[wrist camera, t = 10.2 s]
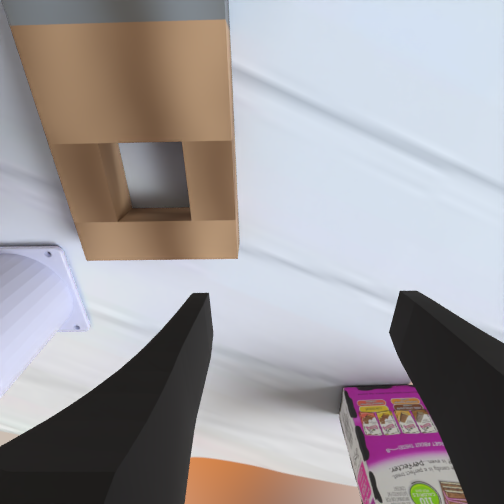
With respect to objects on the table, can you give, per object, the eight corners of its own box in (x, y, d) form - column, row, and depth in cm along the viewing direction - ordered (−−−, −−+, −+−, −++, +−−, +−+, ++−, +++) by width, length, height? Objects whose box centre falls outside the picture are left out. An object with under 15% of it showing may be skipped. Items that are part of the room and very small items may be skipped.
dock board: (104, 243, 22) (86, 260, 19) (-44, -268, 11) (-116, -356, 9) (239, 241, 21) (237, 258, 19) (215, -281, 11) (205, -374, 9)
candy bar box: (337, 416, 31) (408, 697, 17) (341, 384, 29) (428, 679, 14) (445, 414, 31) (615, 699, 16) (458, 381, 28) (671, 681, 14)
